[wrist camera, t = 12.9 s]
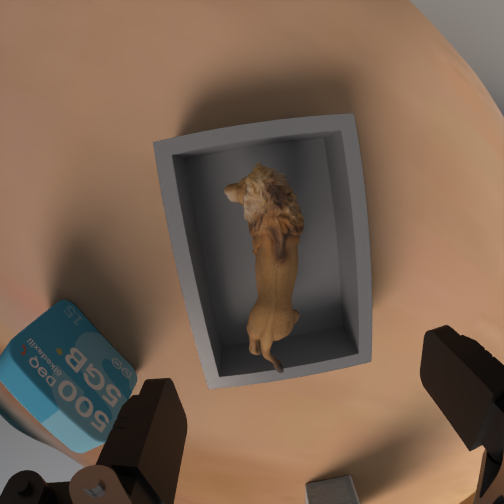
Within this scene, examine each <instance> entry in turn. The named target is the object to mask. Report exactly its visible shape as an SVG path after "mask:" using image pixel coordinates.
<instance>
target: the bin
mask: <svg viewBox="0 0 504 504" xmlns="http://www.w3.org/2000/svg"><path fill="white" fill-rule="evenodd" d="M153 145H154V152H155V158H156V164H157V170H158V176H159V182H160V188H161V194H162V199H163V205H164V210H165V215H166V220H167V225H168V230H169V235H170V240H171V245H172V249H173V254H174V259H175V263H176V268H177V272H178V276H179V281H180V285H181V289H182V293H183V297H184V301H185V305H186V309H187V313H188V317H189V321H190V325H191V329H192V333H193V336H194V340H195V344H196V347H197V351H198V355H199V358H200V362H201V365H202V369H203V372H204V375H205V379H206V382H207V385H208V389H215V388H225V387H234V386H243V385H251V384H258V383H265V382H272V381H279V380H285V379H291V378H297V377H302V376H308V375H313V374H318V373H323V372H328V371H333V370H338V369H342V368H347V367H351V366H355V365H359V364H364V363H368V362H371V356H372V278H371V256H370V239H369V226H368V214H367V203H366V194H365V185H364V176H363V169H362V161H361V154H360V147H359V141H358V134H357V128H356V123H355V117H354V113H349V114H332V115H319V116H308V117H297V118H288V119H279V120H271V121H264V122H256V123H249V124H243V125H236V126H230V127H224V128H219V129H213V130H208V131H203V132H197V133H192V134H188V135H183V136H178V137H174V138H169V139H165V140H161V141H156V142H153ZM257 162H259V163H261V164H262V165H263V166H265V167H270V168H274V169H276V170H277V171H278V172H279V173H283V174H285V176H286V179H287V180H288V182H289V183H290V187H291V188H292V190H293V193H295V194H296V196H297V203H298V205H299V206H300V208H301V214H302V215H303V217H304V218H303V220H304V229H303V232H302V234H301V235H300V242H299V244H298V246H297V248H298V271H297V275H296V280H295V285H294V290H293V294H292V309H295V310H297V311H298V313H299V319H298V320H297V322H296V323H295V324H294V327H293V329H292V331H291V332H290V333H289V334H288V335H287V336H286V337H284V338H282V339H280V340H278V341H273V343H272V346H271V349H270V353H271V354H272V355H273V356H274V357H276V358H277V359H278V360H279V361H280V362H281V364H282V367H283V370H284V372H283V373H281V374H280V373H278V372H277V370H276V369H275V368H274V364H273V363H272V362H270V361H269V360H267V359H265V358H264V356H263V355H262V352H261V354H260V355H254V354H252V353H251V352H250V350H249V344H250V339H249V334H248V332H247V323H248V320H249V314H250V311H251V310H252V308H253V306H254V305H255V303H256V301H257V298H258V292H257V285H256V276H255V262H256V257H255V256H254V254H253V250H254V248H253V245H252V236H251V234H250V233H249V227H248V221H247V220H245V218H244V208H243V206H242V205H240V204H238V203H237V202H231V201H230V200H229V199H228V197H227V195H225V192H224V189H225V187H226V186H227V185H228V184H232V183H239V182H240V181H241V180H242V179H243V178H244V177H247V176H248V174H249V173H251V172H252V169H253V168H254V167H255V166H256V163H257ZM259 340H260V339H259Z"/></svg>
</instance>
